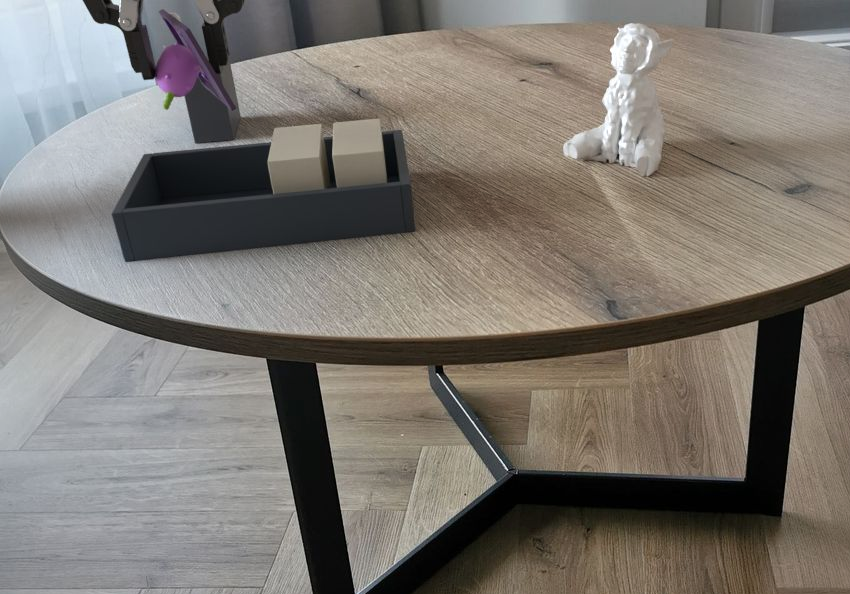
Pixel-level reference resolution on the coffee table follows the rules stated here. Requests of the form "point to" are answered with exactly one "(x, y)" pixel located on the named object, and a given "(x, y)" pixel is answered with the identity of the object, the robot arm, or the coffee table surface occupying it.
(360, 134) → the cream box
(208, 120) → the grey box
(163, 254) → the tray
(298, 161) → the cream box
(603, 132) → the seated beast figurine
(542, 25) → the coffee table surface
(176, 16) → the purple bumpy fruit toy
